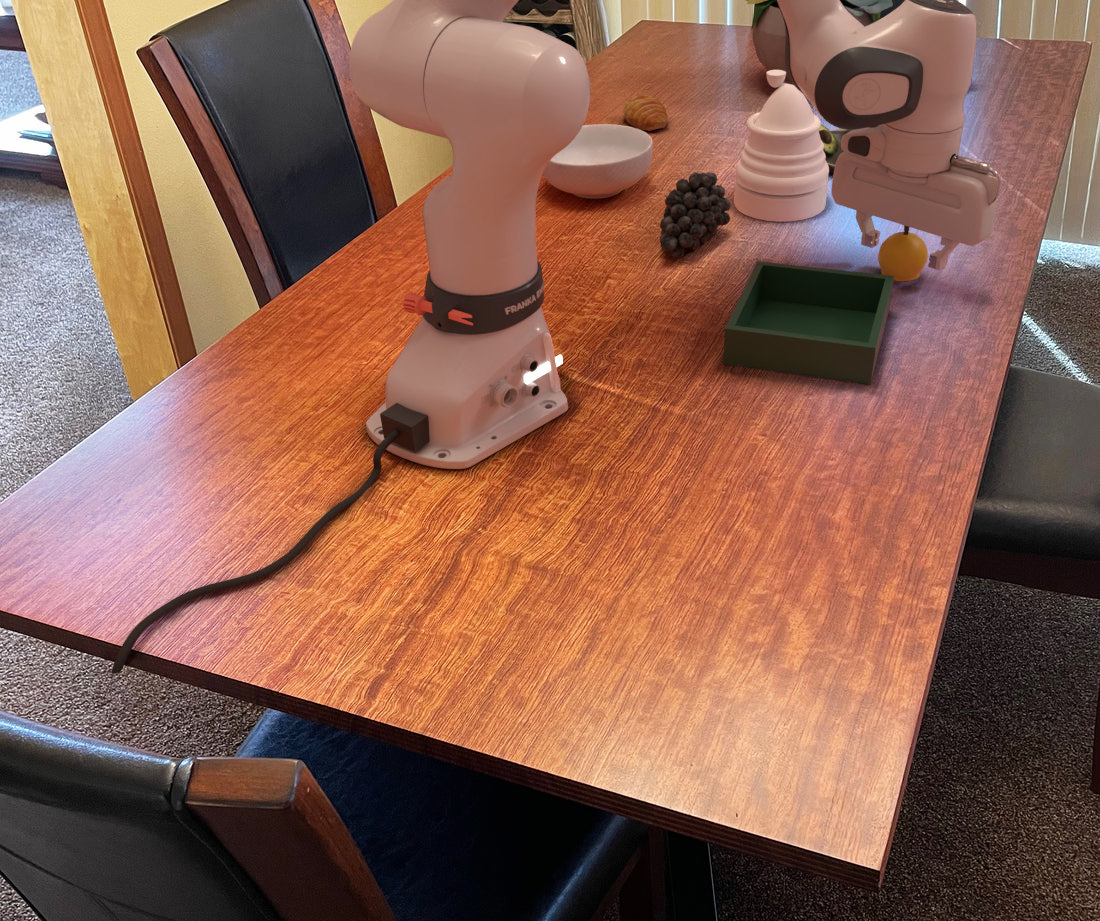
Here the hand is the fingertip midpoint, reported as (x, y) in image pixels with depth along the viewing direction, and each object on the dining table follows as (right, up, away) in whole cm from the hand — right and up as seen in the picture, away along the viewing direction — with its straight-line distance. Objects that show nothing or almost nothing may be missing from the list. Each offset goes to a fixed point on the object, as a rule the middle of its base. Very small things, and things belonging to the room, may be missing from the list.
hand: (902, 256), depth 135 cm
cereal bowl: (-36, +15, +30) cm, 50 cm away
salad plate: (+3, +22, +35) cm, 41 cm away
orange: (0, -2, +2) cm, 3 cm away
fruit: (-25, +4, +13) cm, 29 cm away
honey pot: (-10, +12, +22) cm, 27 cm away
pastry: (-27, +32, +52) cm, 67 cm away
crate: (-14, -12, -9) cm, 20 cm away
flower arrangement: (+3, +42, +63) cm, 76 cm away
